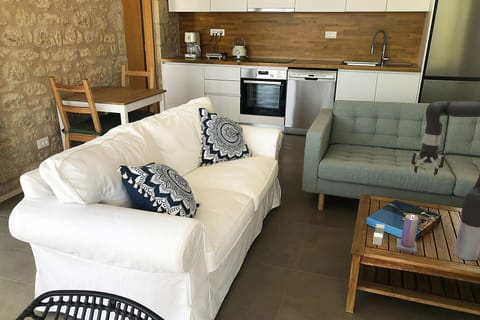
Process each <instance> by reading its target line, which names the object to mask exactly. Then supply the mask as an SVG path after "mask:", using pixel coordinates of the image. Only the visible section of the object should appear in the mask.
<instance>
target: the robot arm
mask: <svg viewBox="0 0 480 320" xmlns="http://www.w3.org/2000/svg"><path fill="white" fill-rule="evenodd" d="M449 116H450V117H454V118H480V101H473V100H472V101H471V100H470V101H469V100H467V101H466V100H464V101H462V100H457V101H448V100H439V101H434V102H433V101H432V102H430V103H429V104H428V105H427V106H426V110H425V121H426V122H425V124H426V126H425V130H424V134H423V138H422V143H421V149H420V152H416V151H413V153H412V157H411V161H410V163H411V165H413V166H414V167H413V172H414V173H415V174H417V173H418V169H419V165H420V164H422V163H426V164H433V166H434V168H433V169H434V170H433V176H436V175H438V173H439V169H443V168H444V163H445V156H444V154H442V155H439V154H438V153H439V149H440V144H441V137H442V131H443V126H444V125H443V123H442V122H441V121H440V120H441V117H449ZM417 157H419V159H417V160H416V158H417ZM438 159H439V164H438V163H437V161H436V160H438ZM415 160H416V161H415ZM478 174H479V175H478V178H477V180H476V182H475V184H474V186H473V187H472V189H471V190H470V191H469V192H468V193H467V194H466V195H465V196H464V199H463V203H462V208H461V213H460V214H461V215H460V217H461V218H460V222H459V228H458V232H457V236H456V240H455V245H454V248H453V254H454V255H455V257H457V258H459V259H461V260H464V261H477V260H478V257H479V253H480V173H478Z"/></svg>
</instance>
